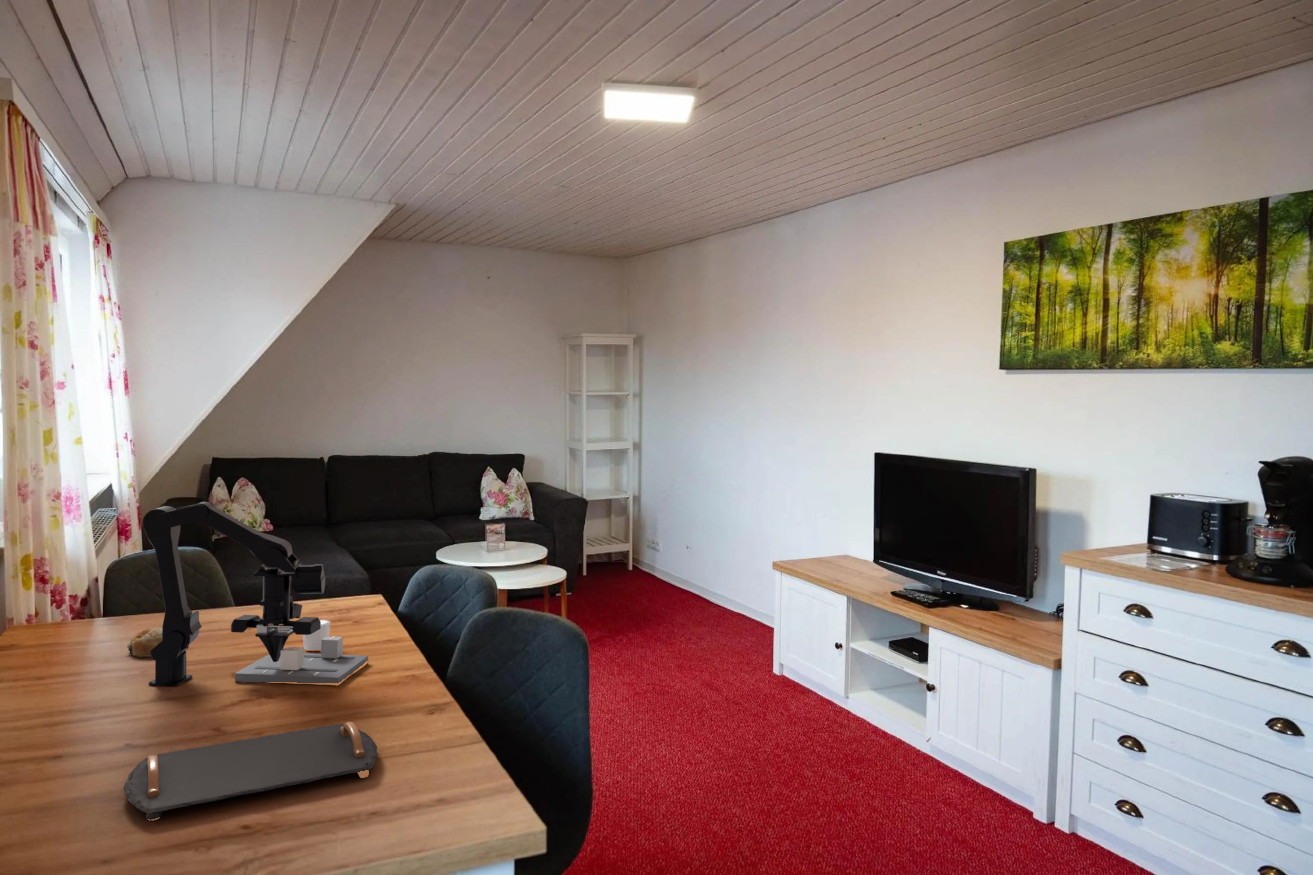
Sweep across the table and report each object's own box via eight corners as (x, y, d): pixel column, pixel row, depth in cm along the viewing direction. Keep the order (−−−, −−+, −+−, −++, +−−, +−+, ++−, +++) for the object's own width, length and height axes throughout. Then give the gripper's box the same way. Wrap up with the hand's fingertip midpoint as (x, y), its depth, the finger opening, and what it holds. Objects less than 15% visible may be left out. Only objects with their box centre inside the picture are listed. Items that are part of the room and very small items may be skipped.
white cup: (334, 645, 220) (335, 619, 220) (321, 653, 213) (322, 626, 213) (310, 644, 221) (310, 618, 220) (296, 651, 214) (296, 624, 214)
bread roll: (152, 673, 206) (166, 644, 205) (115, 654, 206) (128, 625, 205) (176, 661, 216) (189, 633, 215) (140, 643, 216) (153, 615, 215)
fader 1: (297, 670, 192) (297, 650, 192) (280, 669, 192) (280, 649, 192) (303, 666, 195) (303, 646, 195) (286, 665, 195) (287, 646, 195)
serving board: (359, 734, 163) (360, 702, 163) (390, 779, 143) (390, 743, 143) (124, 775, 142) (124, 739, 142) (122, 835, 123) (122, 794, 123)
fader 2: (337, 658, 202) (337, 639, 202) (321, 657, 202) (321, 639, 202) (342, 654, 205) (342, 636, 205) (326, 654, 205) (326, 635, 205)
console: (338, 686, 189) (338, 676, 188) (234, 681, 190) (234, 672, 190) (368, 663, 205) (368, 655, 205) (272, 659, 207) (272, 651, 207)
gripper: (331, 588, 201) (330, 652, 201) (255, 585, 202) (254, 650, 202) (309, 598, 190) (309, 666, 190) (229, 596, 191) (229, 663, 191)
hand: (275, 661), depth 194 cm, fingers closed
